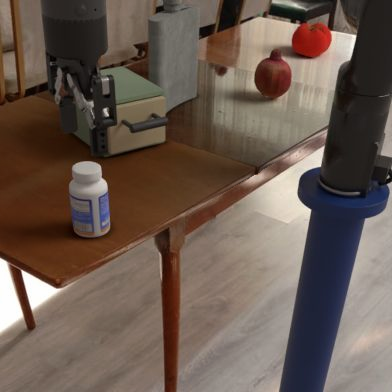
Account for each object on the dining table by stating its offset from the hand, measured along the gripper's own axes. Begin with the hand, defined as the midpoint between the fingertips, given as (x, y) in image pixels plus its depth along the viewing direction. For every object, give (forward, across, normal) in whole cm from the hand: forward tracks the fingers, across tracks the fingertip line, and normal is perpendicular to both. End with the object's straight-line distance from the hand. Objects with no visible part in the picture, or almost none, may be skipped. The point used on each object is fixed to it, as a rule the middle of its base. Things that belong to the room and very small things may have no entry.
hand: (84, 143), depth 84 cm
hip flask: (+13, +36, -38) cm, 54 cm away
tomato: (+13, +48, -89) cm, 102 cm away
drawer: (+12, +24, -20) cm, 33 cm away
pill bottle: (+13, 0, 0) cm, 13 cm away
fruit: (+13, +28, -59) cm, 66 cm away
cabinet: (+13, +28, -20) cm, 36 cm away
